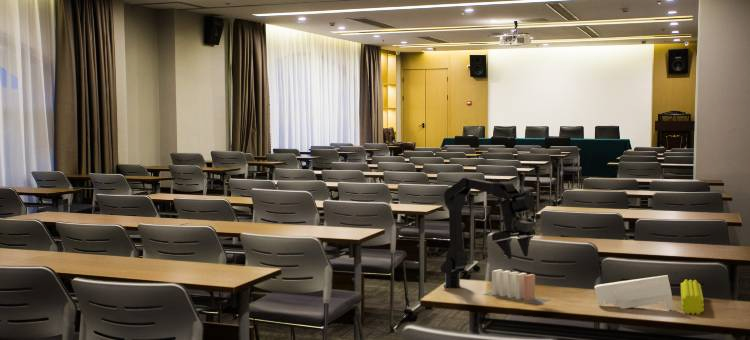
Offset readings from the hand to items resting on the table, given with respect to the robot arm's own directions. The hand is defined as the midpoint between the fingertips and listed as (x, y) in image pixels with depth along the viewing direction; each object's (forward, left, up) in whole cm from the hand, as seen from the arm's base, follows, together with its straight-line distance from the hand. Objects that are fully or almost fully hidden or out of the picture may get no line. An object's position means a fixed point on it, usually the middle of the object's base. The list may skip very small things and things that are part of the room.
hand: (518, 257), depth 279 cm
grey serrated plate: (-5, 0, -16) cm, 17 cm away
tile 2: (-8, -3, -16) cm, 18 cm away
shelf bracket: (+10, +39, -16) cm, 44 cm away
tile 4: (-3, +2, -16) cm, 16 cm away
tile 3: (-6, -1, -16) cm, 17 cm away
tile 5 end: (-1, +4, -16) cm, 16 cm away
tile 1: (-10, -6, -16) cm, 20 cm away
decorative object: (+5, +62, -17) cm, 64 cm away
